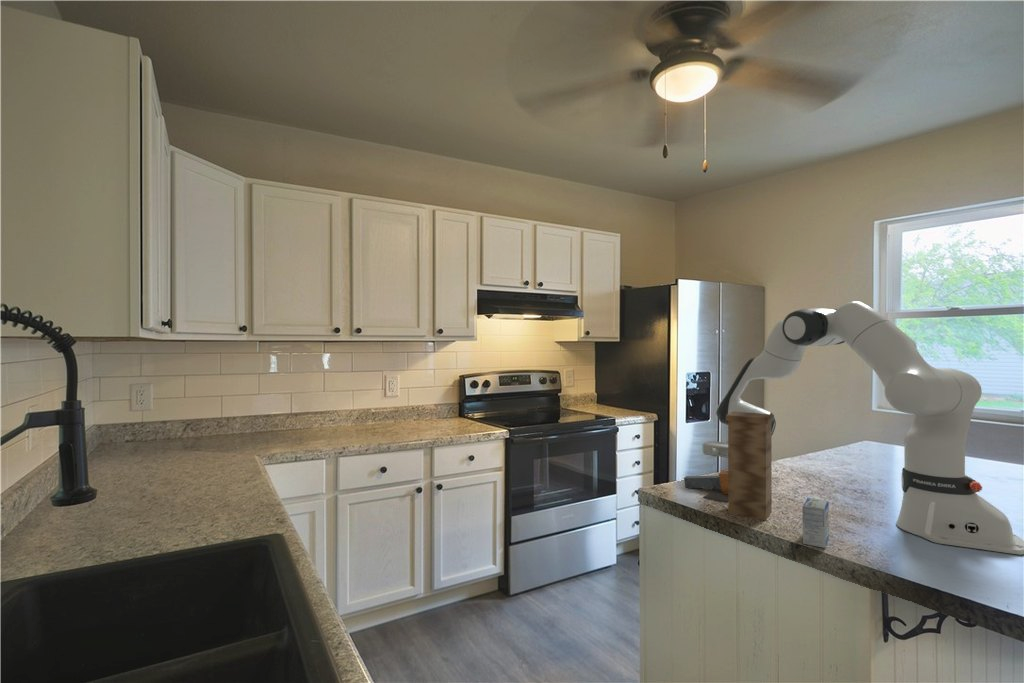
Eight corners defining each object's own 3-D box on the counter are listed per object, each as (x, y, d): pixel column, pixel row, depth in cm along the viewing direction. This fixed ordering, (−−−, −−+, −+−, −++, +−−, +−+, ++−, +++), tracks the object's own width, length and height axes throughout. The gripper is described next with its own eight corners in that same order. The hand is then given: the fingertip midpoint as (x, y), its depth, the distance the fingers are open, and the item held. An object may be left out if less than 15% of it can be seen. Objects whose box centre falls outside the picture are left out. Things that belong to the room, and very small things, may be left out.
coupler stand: (774, 511, 131) (773, 414, 131) (767, 521, 124) (767, 418, 124) (733, 504, 137) (733, 411, 137) (725, 513, 130) (725, 415, 130)
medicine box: (825, 549, 107) (825, 509, 107) (802, 544, 110) (802, 505, 110) (829, 538, 113) (829, 500, 113) (806, 533, 116) (806, 496, 116)
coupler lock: (685, 471, 156) (681, 474, 152) (743, 469, 146) (740, 473, 142) (688, 490, 155) (684, 494, 151) (746, 490, 146) (744, 494, 142)
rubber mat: (749, 490, 150) (749, 489, 150) (736, 503, 137) (736, 502, 137) (718, 485, 156) (718, 484, 156) (703, 497, 143) (703, 496, 143)
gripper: (708, 435, 168) (696, 441, 157) (775, 442, 156) (767, 449, 145) (708, 453, 168) (696, 461, 157) (775, 462, 156) (767, 471, 145)
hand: (730, 455), depth 151 cm, fingers open, 8 cm apart
